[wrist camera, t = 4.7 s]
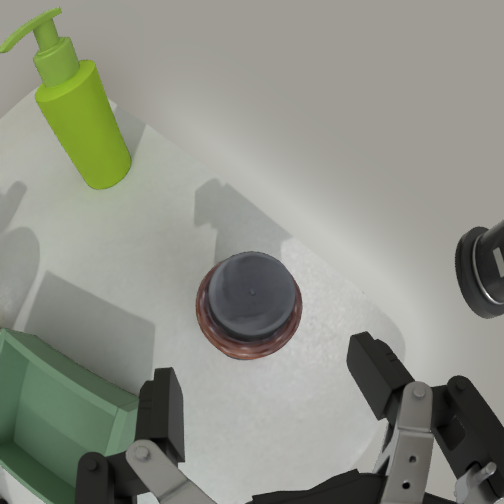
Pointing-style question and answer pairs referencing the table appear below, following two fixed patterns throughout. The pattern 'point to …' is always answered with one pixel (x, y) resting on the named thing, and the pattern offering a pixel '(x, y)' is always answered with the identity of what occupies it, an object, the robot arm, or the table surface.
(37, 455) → the green square tray
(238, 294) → the supplement bottle
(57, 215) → the table surface
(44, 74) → the soap dispenser
